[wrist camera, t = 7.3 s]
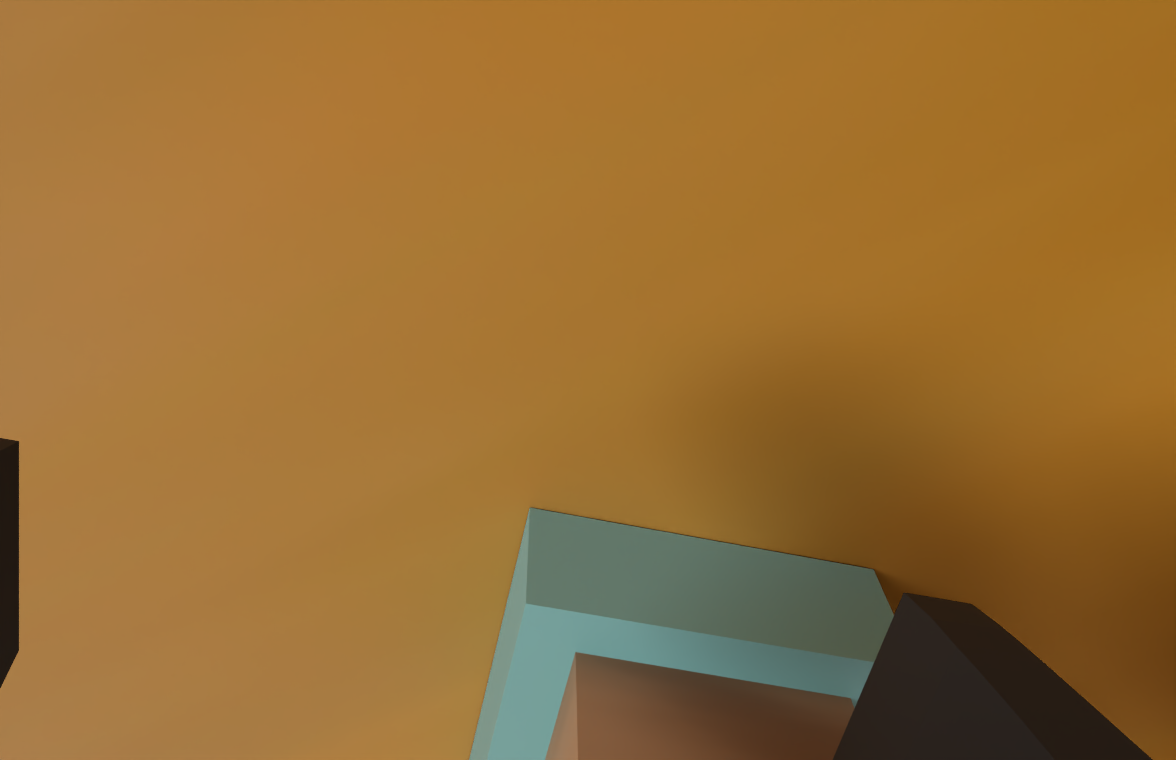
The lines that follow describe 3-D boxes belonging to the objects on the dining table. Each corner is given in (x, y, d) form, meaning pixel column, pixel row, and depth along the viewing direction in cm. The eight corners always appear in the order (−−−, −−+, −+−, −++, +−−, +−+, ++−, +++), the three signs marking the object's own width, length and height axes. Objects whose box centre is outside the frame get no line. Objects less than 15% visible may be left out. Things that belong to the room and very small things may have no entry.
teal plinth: (873, 569, 22) (918, 669, 19) (771, 820, 25) (797, 938, 22) (529, 507, 21) (525, 603, 18) (465, 774, 24) (453, 891, 21)
